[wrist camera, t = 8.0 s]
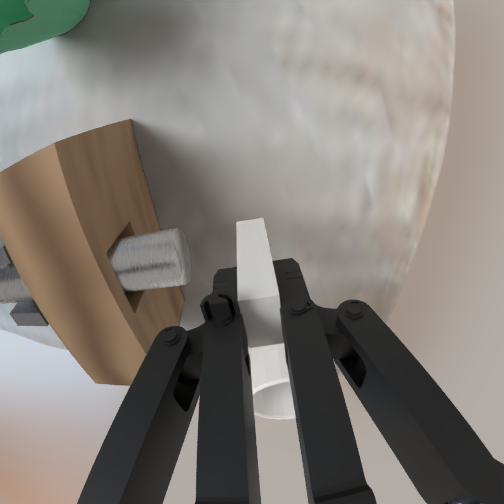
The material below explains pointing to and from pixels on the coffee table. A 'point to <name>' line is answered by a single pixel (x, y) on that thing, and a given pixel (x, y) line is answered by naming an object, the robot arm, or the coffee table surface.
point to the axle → (126, 264)
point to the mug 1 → (37, 20)
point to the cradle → (27, 310)
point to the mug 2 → (271, 383)
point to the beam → (86, 247)
